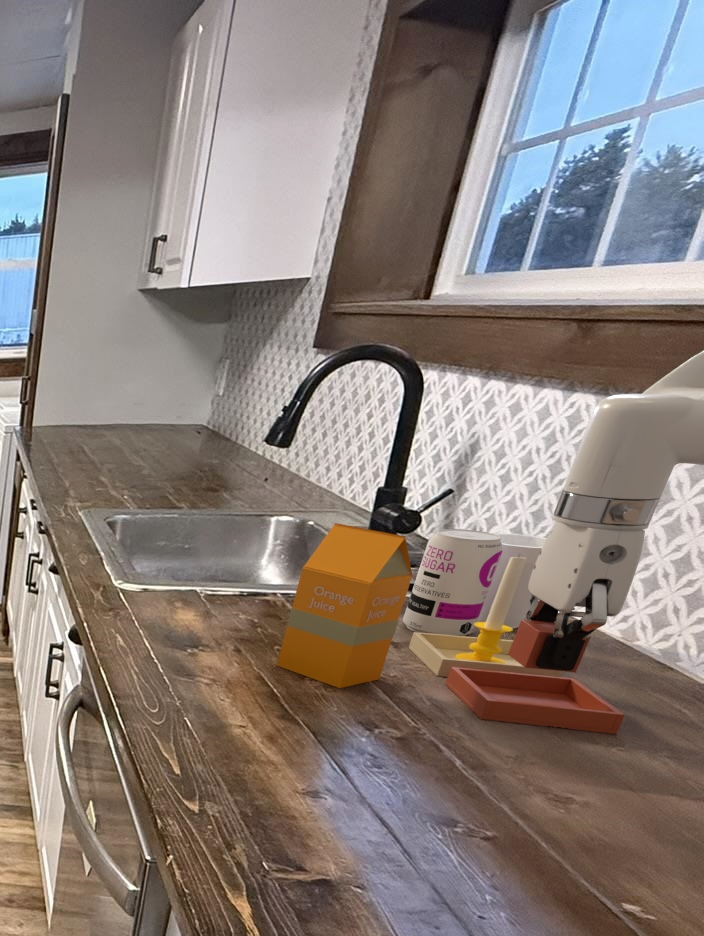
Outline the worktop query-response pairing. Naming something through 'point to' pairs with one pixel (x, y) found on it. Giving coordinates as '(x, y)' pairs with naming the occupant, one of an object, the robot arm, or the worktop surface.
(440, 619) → the supplement can
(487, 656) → the candle
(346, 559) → the orange juice
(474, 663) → the cream tray
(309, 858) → the worktop surface
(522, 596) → the foam cup
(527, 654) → the terracotta block
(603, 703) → the terracotta tray
